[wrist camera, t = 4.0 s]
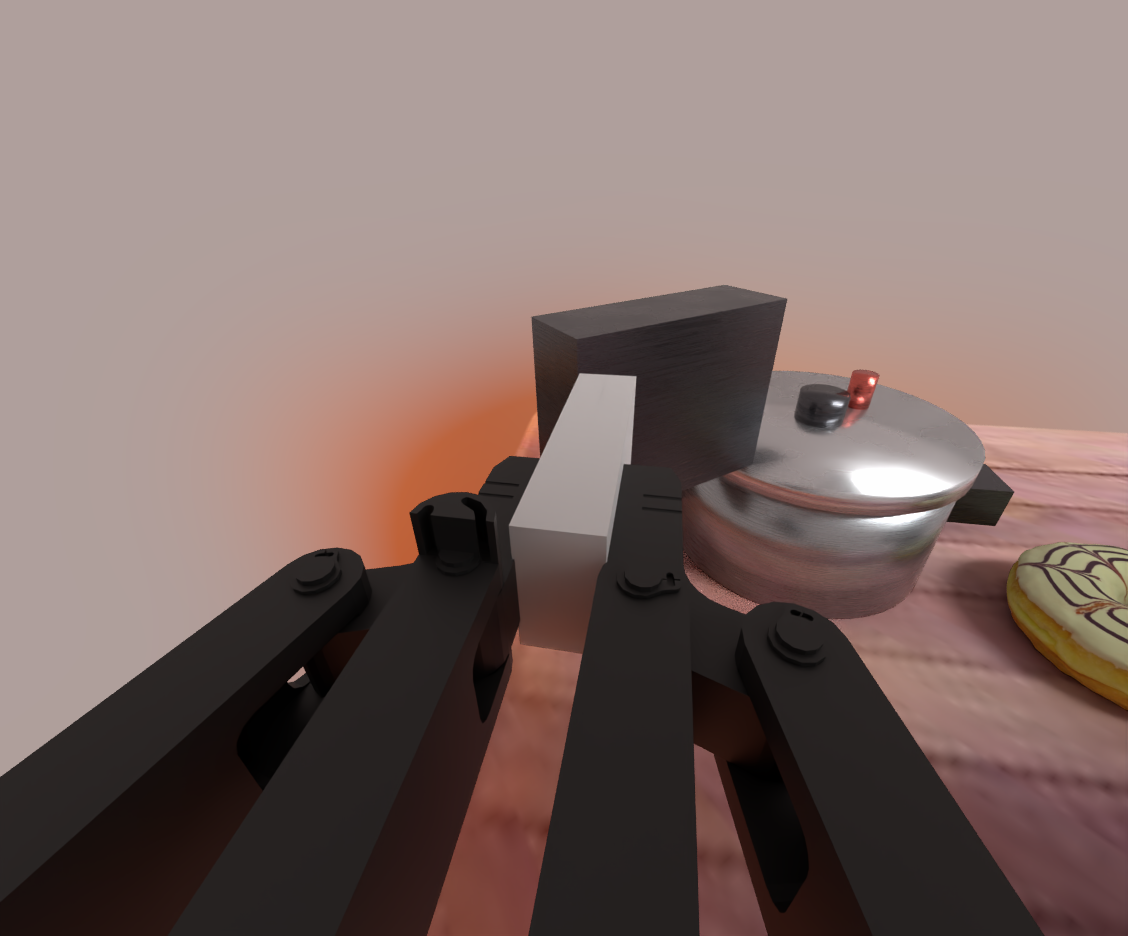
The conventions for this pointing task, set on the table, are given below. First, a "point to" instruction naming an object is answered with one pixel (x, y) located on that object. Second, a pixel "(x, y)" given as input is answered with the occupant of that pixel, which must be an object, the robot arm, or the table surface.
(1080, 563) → the decorated donut
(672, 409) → the lid
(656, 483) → the robot arm
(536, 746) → the table surface
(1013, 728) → the table surface
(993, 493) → the pot
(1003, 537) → the table surface
